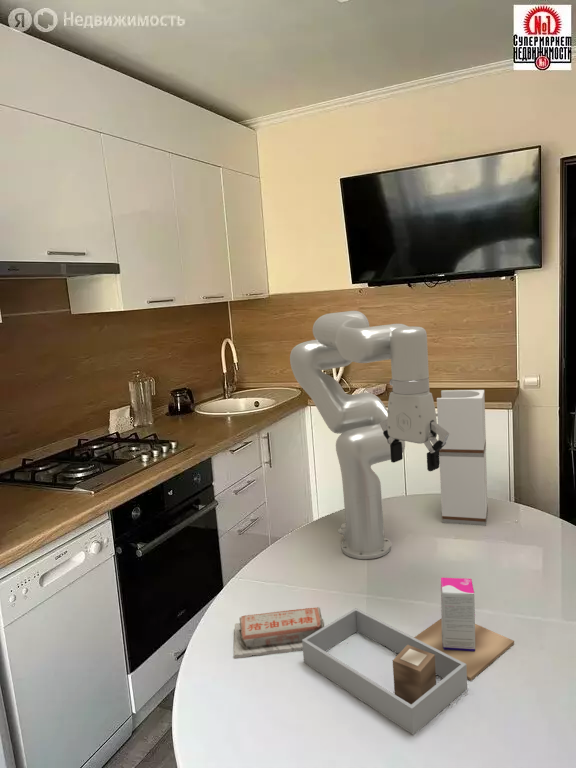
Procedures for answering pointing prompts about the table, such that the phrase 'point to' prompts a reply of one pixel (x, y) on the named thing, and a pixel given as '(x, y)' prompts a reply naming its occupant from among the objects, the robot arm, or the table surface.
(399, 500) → the table surface
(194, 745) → the table surface
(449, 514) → the tall striped box
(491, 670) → the table surface
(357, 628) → the grey bin
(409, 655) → the walnut block
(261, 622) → the packaged product
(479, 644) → the cork mat
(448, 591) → the supplement box
